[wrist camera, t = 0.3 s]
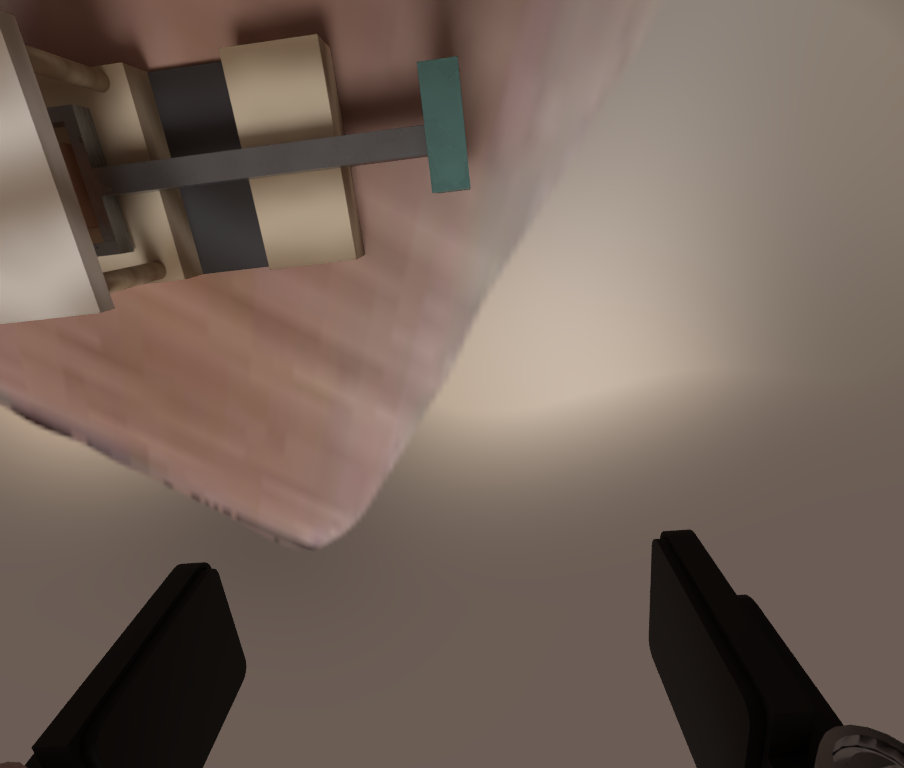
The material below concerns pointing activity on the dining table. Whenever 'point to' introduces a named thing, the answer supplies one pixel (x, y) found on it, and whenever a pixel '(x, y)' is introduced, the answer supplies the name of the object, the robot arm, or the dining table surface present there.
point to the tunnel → (154, 138)
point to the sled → (275, 155)
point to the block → (78, 185)
